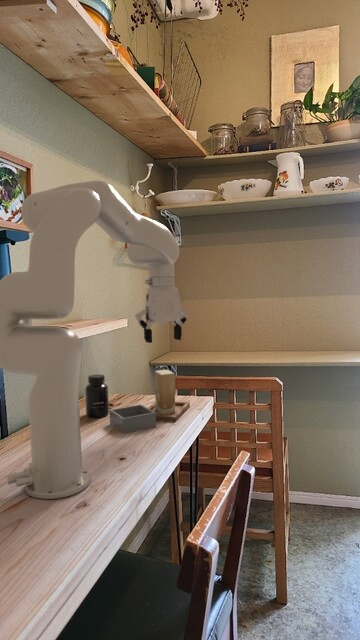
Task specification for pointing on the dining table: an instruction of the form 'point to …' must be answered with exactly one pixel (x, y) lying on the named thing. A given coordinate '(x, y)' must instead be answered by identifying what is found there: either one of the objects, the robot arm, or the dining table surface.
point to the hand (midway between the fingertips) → (163, 340)
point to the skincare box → (165, 391)
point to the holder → (132, 418)
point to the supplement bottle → (96, 397)
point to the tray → (173, 417)
